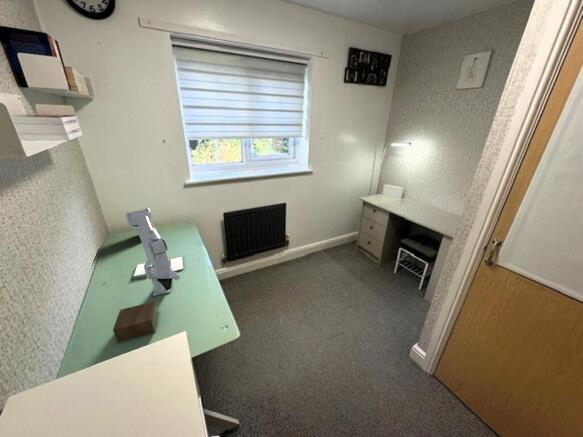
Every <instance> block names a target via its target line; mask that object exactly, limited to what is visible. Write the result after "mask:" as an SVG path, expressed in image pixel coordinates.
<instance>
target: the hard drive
mask: <svg viewBox="0 0 583 437" xmlns="http://www.w3.org/2000/svg"><path fill="white" fill-rule="evenodd" d="M145 263H146V262H145ZM145 263H139V264H137V265H136V268H135V271H134V273H133V275H132V278H133V279H138V278H143V277H147V276H146V273H145V269H144V265H145ZM150 266H153V265H150ZM150 266H149V267H150Z"/></svg>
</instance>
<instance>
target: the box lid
mask: <svg viewBox="0 0 583 437" xmlns="http://www.w3.org/2000/svg"><path fill="white" fill-rule="evenodd" d="M157 304H158V301H157V300H156V301H155V300H154V301H151V302H146V303H142V304H138V305H134V306H129V307H125V308H120V309H119V312H118V314H117V317H116V320H115V323H114V325H113V328H112V331H113V332H114V331H116V330H120V329H124V328H128V327H132V326H136V325H140V324H143V323H147V322H151V321H154V315H155V310H156V308H157Z"/></svg>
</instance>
